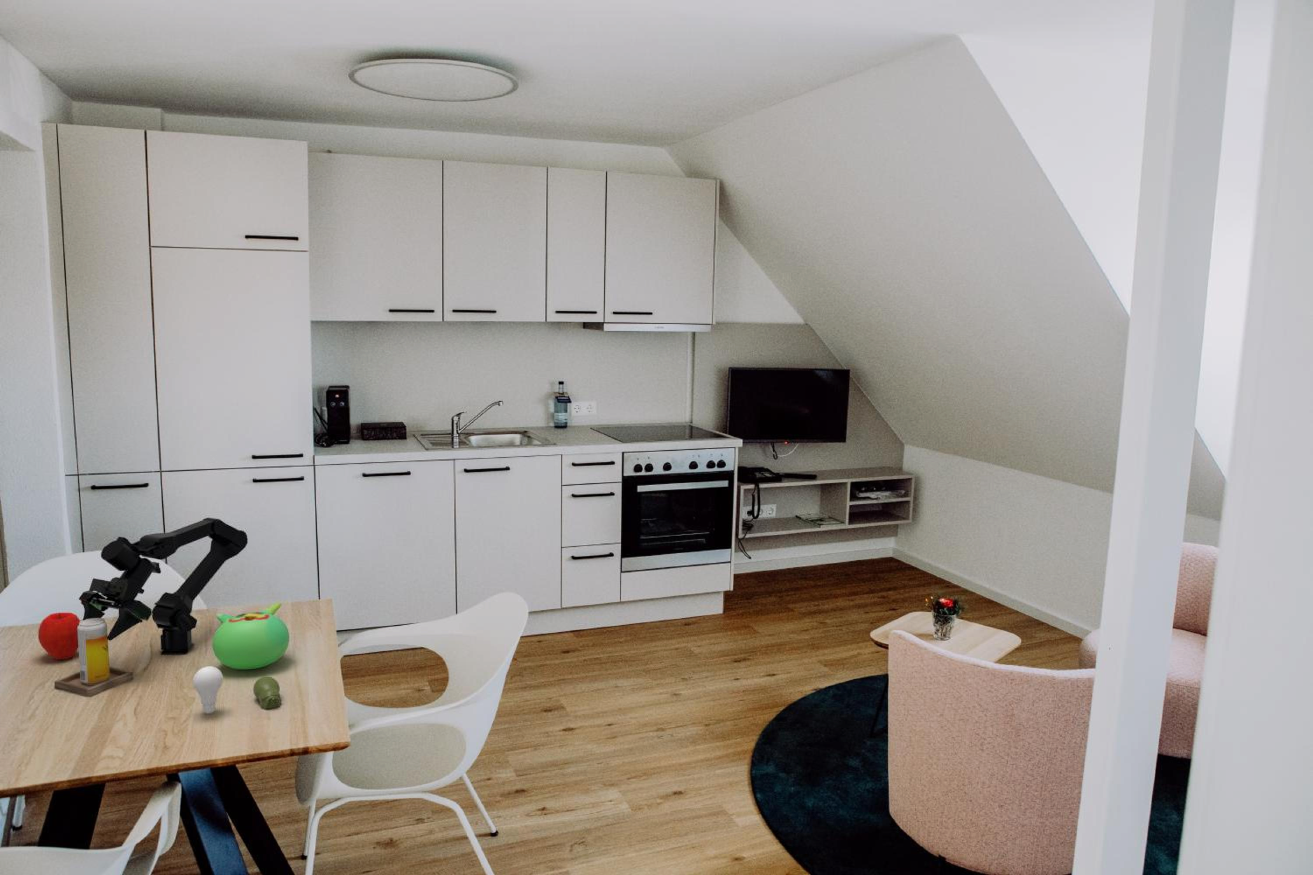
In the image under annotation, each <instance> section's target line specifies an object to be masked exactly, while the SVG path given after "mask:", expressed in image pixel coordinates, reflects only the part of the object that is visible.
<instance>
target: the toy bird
mask: <svg viewBox="0 0 1313 875" xmlns="http://www.w3.org/2000/svg"><path fill="white" fill-rule="evenodd" d="M282 604H283V603H281V602H278V603H275V604H273V605H270V606H269V607H267V608H265V609H263V610H260V611H258V612H248V613H241V614H238V615H235V616H232V615H229V614H225V613H218V614H216V618H217V620H218V621H219V622H220V623H221V625H219V627H218V628H217V629H216V631H215V632H214V635H213V638H212V639H213V640H212V651H213V653H214V655H215V657H216V659H217V661H219V662H220V663H221V664H223V665H224V666H226V667H229V668H232V669H236V670H255V669H260V668H264V667H266V666H269V665H271V664H273V663H276V661H278V660H279V659H280V658H281V657H283V656H284V655H285V653H286V652H287V649H288V647H289V644H290V632H289V628H288V627H287V625H286V623H285V622H284V621H283V620H282V619H281V618H280V617H277V616H276V615H275V614H276V613H277V612H278V610H279V609H280V607H281V606H282Z"/></svg>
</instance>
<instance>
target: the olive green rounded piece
mask: <svg viewBox="0 0 1313 875" xmlns="http://www.w3.org/2000/svg"><path fill="white" fill-rule="evenodd" d="M252 689H253V695H254V697H255V698H256V699H258V700H259V701H260V704H259V706H260V708H262V709H263V710H269V709H268V708H270V709H274V708H273V707H276V708H278V707H277V706H279V707H280V706H281V704H282V699H281V693H280V685H279V682H278V680H277V679H275V678H274V677H271V676H267V675H266V676H261V677H260V678H258V679H257V680H256V681H255V683H254V684H253V687H252Z"/></svg>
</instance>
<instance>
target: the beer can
mask: <svg viewBox="0 0 1313 875" xmlns="http://www.w3.org/2000/svg"><path fill="white" fill-rule="evenodd" d="M77 630H78V646H79V647H78V660H79V672H80V678H81V681H82V682H83V683H84V684H85V685H96V684H100V683H103V682H105V681H107V679H108V678H109V676H110V668H109V667H110V655H109V640H108V639H107V637H108V635H109V633H108V624H107V622H106V620H105V618H103V617H101V618H91V619H86V620H83V619H82V620H80V623H79V626H78V628H77Z"/></svg>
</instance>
